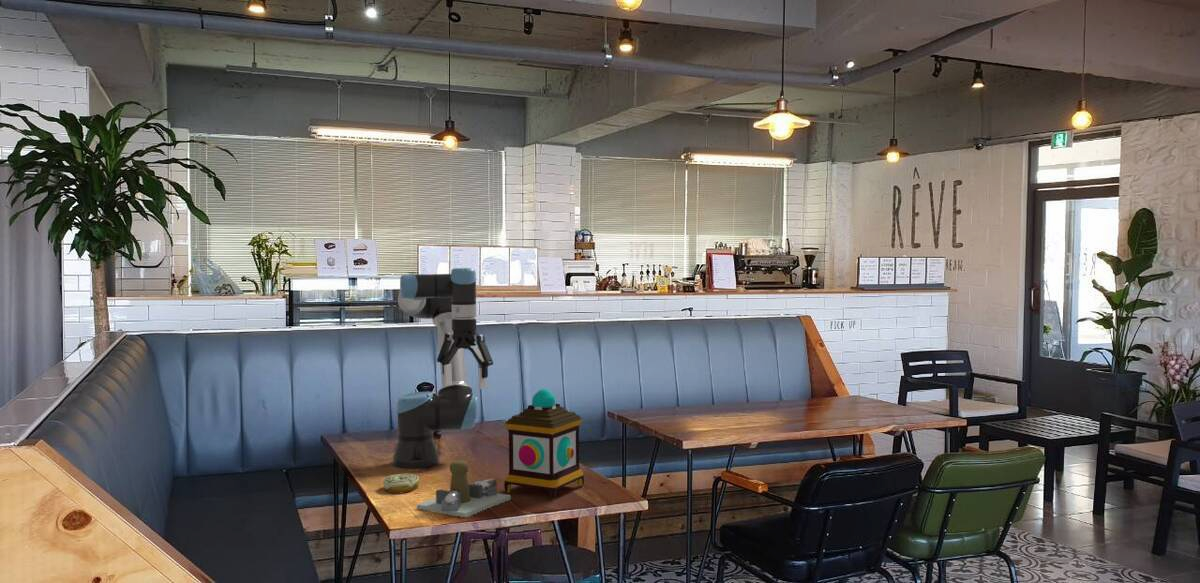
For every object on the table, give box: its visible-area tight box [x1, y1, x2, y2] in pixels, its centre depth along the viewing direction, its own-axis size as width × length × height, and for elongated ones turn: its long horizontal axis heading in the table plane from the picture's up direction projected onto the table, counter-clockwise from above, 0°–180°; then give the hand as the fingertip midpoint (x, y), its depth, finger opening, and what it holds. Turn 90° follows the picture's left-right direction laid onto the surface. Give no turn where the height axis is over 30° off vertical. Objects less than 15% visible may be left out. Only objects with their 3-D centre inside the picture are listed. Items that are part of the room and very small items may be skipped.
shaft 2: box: [473, 477, 498, 497], centre depth 252 cm, size 6×4×4 cm
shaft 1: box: [441, 491, 461, 511], centre depth 238 cm, size 5×4×4 cm
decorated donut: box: [382, 473, 420, 494], centre depth 263 cm, size 10×11×4 cm
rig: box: [416, 482, 512, 518], centre depth 247 cm, size 17×20×5 cm
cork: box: [449, 459, 471, 503], centre depth 246 cm, size 6×6×11 cm
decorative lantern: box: [503, 388, 585, 500], centre depth 261 cm, size 20×20×30 cm
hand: (465, 387), depth 273 cm, fingers open, 13 cm apart
